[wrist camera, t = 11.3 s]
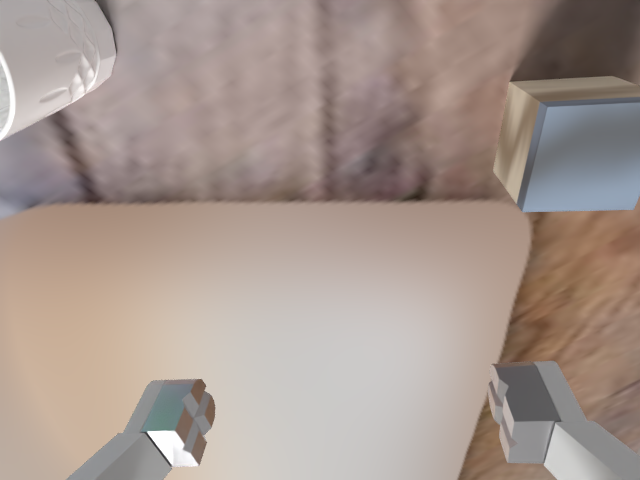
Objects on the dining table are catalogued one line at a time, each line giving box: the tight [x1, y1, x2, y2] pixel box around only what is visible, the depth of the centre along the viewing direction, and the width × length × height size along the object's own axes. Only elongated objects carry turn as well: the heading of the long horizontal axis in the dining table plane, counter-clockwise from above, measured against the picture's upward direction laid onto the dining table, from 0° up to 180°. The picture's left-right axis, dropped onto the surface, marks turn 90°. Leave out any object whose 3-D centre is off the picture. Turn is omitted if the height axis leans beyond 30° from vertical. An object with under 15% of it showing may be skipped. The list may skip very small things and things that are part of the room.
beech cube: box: [493, 76, 640, 212], centre depth 23 cm, size 6×6×6 cm
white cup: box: [0, 0, 116, 141], centre depth 21 cm, size 8×8×10 cm
